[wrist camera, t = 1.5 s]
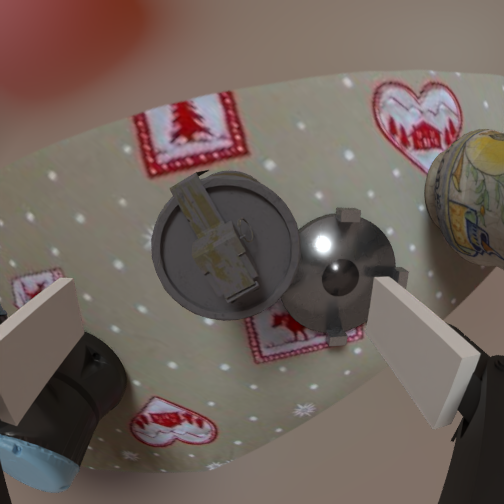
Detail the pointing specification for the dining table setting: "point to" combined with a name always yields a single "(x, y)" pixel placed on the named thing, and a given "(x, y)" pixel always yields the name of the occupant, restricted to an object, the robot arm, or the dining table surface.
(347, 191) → the dining table surface
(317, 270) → the flange
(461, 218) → the vase
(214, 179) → the canister
